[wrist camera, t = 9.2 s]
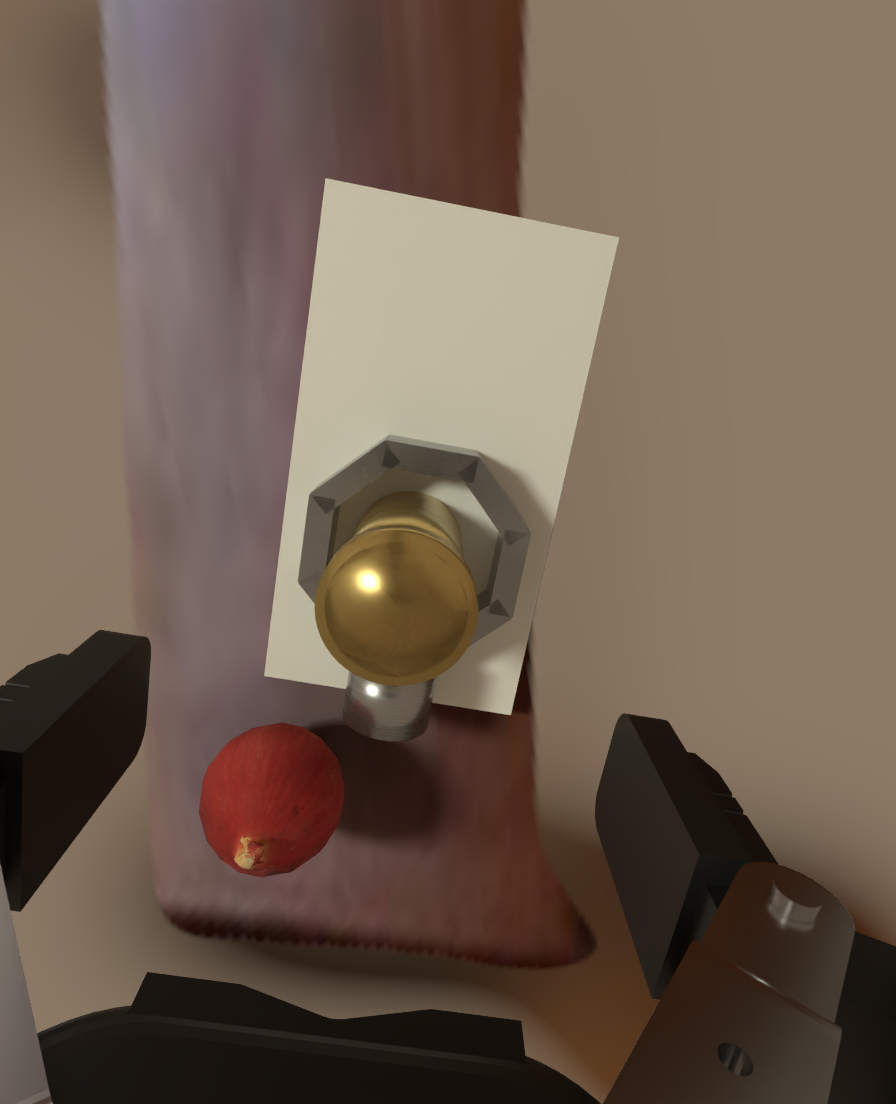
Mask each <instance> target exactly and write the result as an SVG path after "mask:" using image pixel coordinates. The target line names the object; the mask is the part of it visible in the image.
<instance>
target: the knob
mask: <svg viewBox="0 0 896 1104" xmlns="http://www.w3.org/2000/svg"><path fill="white" fill-rule="evenodd" d="M314 609H315V619H316V624H317V628H318V631H319V634H320V637H321V639H322V641H323V643H324V645H325V646H326V648H327V649H328V651H329V652H330V654H331V655H332V656H333V657H334V658H335V659H336V660H337V662H338V663H340V664H341V665H342V666H343V667H344V668H346V669H347V670H348V671H350V672H351V673H353V674H355V675H356V676H359V677H361V678H363V679H365V680H368V681H371V682H373V683H378V684H382V685H390V686H406V685H414V684H418V683H422V682H425V681H428V680H430V679H433V678H435V677H437V676H439V675H440V674H442V673H444V672H445V671H447V670H448V669H449V668H451V667H452V666H453V665H454V664H455V663H456V662H457V661H458V660H459V659H460V658H461V657H462V655H463V654H464V653H465V651H466V650H467V648H468V646H469V645H470V643H471V641H472V638H473V636H474V633H475V630H476V626H477V620H478V601H477V594H476V587H475V582H474V579H473V575H472V573H471V571H470V569H469V566H468V565H467V563H466V561H465V560H464V557H463V547H462V537H461V531H460V528H459V525H458V523H457V520H456V519H455V517H454V515H453V514H452V512H451V511H450V510H449V509H448V508H447V507H446V506H445V505H444V504H443V503H442V502H440V501H439V500H438V499H436V498H434V497H432V496H430V495H427V494H425V493H421V492H415V491H401V492H395V493H392V494H389V495H387V496H384V497H382V498H381V499H379V500H377V501H376V502H375V503H374V504H372V505H371V506H370V507H369V509H368V510H367V511H366V512H365V514H364V515H363V517H362V519H361V521H360V523H359V525H358V527H357V529H356V531H355V533H354V535H353V537H352V538H351V539H350V540H349V541H347V542H346V543H345V544H344V545H343V546H342V547H341V548H340V549H339V550H338V551H337V552H336V553H335V555H334V556H333V557H332V559H331V560H330V562H329V564H328V566H327V568H326V569H325V571H324V573H323V575H322V577H321V579H320V582H319V585H318V587H317V591H316V596H315V607H314Z"/></svg>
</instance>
